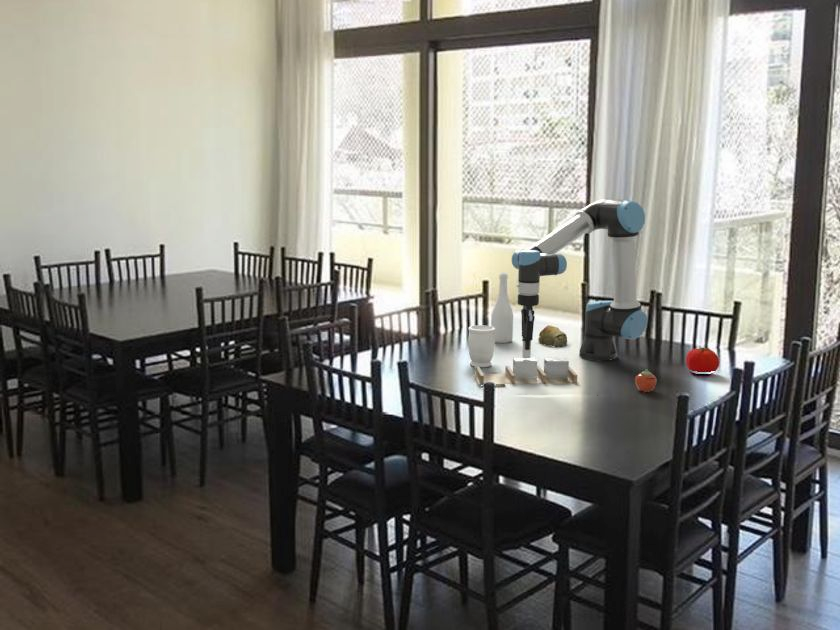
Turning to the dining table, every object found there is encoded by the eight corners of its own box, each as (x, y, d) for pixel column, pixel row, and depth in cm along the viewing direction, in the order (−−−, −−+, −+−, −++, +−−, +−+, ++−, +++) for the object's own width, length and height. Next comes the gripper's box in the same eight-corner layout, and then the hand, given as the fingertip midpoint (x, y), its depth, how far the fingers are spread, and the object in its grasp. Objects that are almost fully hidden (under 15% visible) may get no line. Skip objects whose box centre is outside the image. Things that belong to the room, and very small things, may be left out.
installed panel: (565, 376, 321) (565, 358, 320) (567, 379, 317) (568, 361, 316) (543, 376, 321) (544, 358, 320) (546, 380, 316) (546, 361, 315)
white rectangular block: (534, 376, 321) (534, 358, 319) (536, 379, 316) (537, 361, 315) (512, 376, 320) (513, 358, 319) (514, 379, 316) (515, 361, 314)
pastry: (537, 339, 388) (537, 322, 387) (565, 340, 387) (566, 322, 386) (539, 347, 374) (540, 328, 373) (568, 347, 373) (569, 329, 372)
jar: (492, 369, 335) (493, 331, 332) (465, 367, 337) (466, 329, 334) (495, 362, 345) (496, 325, 342) (469, 361, 347) (470, 324, 344)
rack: (569, 375, 326) (569, 365, 326) (579, 386, 312) (580, 376, 311) (473, 376, 324) (473, 366, 323) (479, 387, 309) (479, 376, 308)
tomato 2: (692, 368, 340) (694, 342, 338) (723, 374, 331) (725, 348, 329) (677, 373, 332) (679, 346, 330) (709, 379, 324) (711, 352, 322)
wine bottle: (513, 343, 379) (515, 275, 374) (491, 343, 379) (493, 274, 374) (511, 338, 389) (513, 272, 383) (490, 338, 389) (491, 271, 383)
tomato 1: (643, 394, 303) (644, 372, 301) (629, 389, 309) (631, 367, 308) (660, 392, 305) (662, 370, 304) (647, 387, 312) (648, 365, 311)
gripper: (514, 290, 318) (512, 353, 323) (521, 296, 306) (519, 362, 310) (535, 290, 319) (533, 353, 323) (542, 296, 306) (540, 362, 311)
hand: (526, 357), depth 317 cm, fingers closed
